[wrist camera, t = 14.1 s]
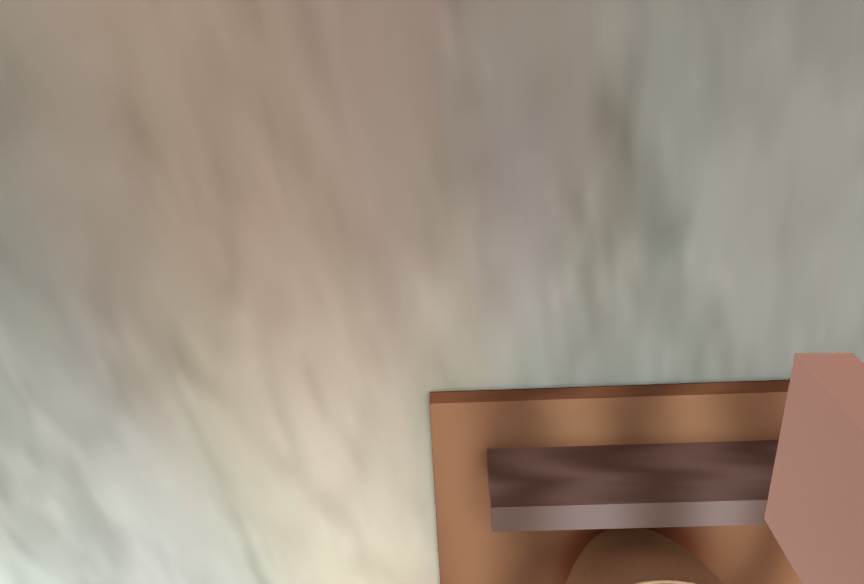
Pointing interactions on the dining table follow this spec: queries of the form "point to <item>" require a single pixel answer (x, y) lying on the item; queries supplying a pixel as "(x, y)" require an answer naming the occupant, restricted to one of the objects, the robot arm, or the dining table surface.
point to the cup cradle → (605, 477)
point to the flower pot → (637, 560)
